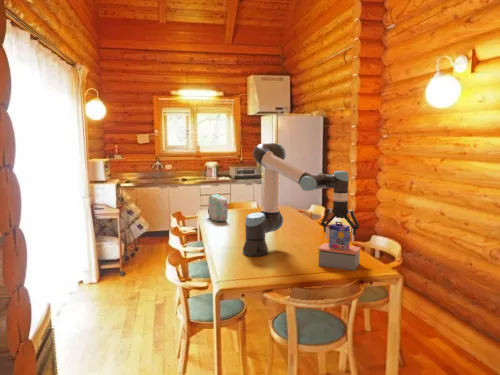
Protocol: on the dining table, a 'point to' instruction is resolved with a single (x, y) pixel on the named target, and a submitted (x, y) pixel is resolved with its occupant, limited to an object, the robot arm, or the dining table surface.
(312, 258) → the dining table surface
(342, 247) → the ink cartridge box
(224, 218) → the lunch box
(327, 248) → the lid
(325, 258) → the box
